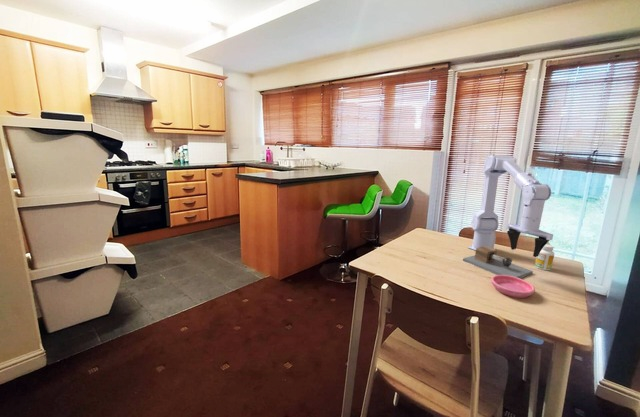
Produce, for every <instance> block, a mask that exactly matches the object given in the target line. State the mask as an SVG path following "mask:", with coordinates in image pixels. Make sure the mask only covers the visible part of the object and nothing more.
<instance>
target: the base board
mask: <svg viewBox="0 0 640 417" xmlns="http://www.w3.org/2000/svg"><path fill="white" fill-rule="evenodd" d="M462 261H463V262H465V263H468V264H470V265H472V266H474V267H475V266H476V267H478V268H479V269H483V270H485V271H488V272H490V273H492V274H494V275H509V276H513V277H517V278H520V279H522V278H523V277H526V276H529V275H532V274H533V273H534V271H533V270H532V269H528V268H526V267H523V266H519V265H517V264H514V263H511V265H510V266H509V267H506V266H504V265H503V263H501V262H498V261H493V262H489V263H484V262H481V261H479V260H476V259H475V254H474V255H470V256H467V257H464V258H463V259H462Z"/></svg>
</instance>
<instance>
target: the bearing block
mask: <svg viewBox="0 0 640 417" xmlns="http://www.w3.org/2000/svg"><path fill="white" fill-rule="evenodd" d="M490 253H492V254H494V255H497V249H496V250H495V248H494V249H493V248H490V247H487V246H483V247H479V248H476V250H475V252H474V255H475V259H476V260H479V261H481V262H484V263H489V262H493V261H495V260H492V259H490V258H489V255H490Z"/></svg>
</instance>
